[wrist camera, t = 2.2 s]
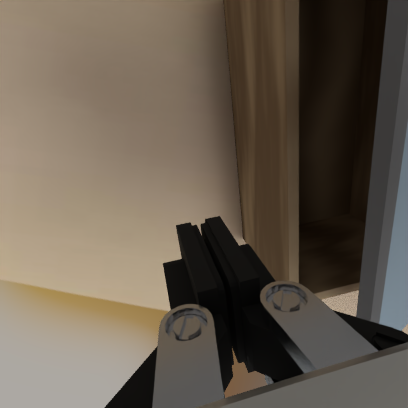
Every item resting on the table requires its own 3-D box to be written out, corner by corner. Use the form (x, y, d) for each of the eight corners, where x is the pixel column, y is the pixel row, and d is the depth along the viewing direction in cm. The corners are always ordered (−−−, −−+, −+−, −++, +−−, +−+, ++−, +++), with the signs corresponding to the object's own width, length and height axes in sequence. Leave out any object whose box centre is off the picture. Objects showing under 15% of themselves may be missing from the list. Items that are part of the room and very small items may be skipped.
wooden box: (369, -17, 28) (514, -79, 17) (351, 215, 37) (437, 269, 27) (223, -2, 26) (284, -61, 15) (243, 238, 36) (289, 307, 25)
